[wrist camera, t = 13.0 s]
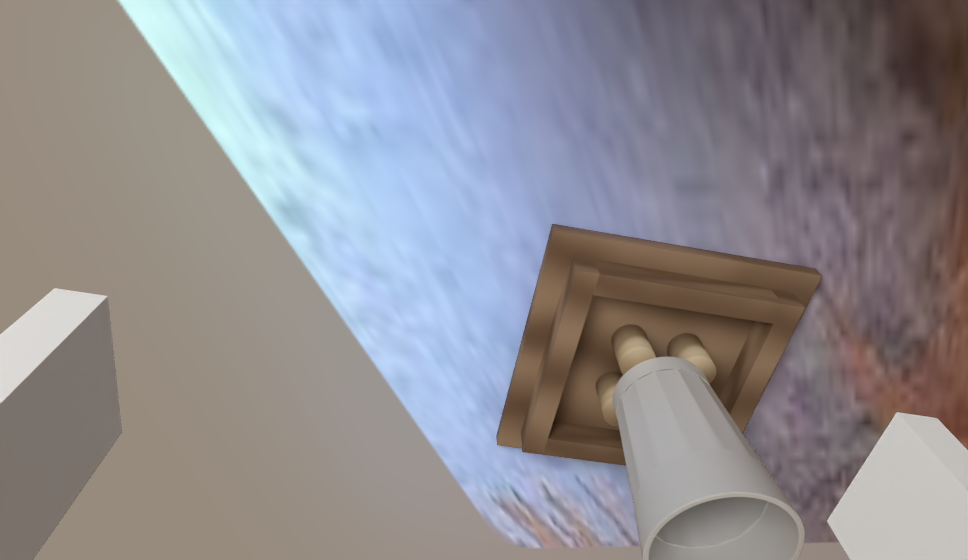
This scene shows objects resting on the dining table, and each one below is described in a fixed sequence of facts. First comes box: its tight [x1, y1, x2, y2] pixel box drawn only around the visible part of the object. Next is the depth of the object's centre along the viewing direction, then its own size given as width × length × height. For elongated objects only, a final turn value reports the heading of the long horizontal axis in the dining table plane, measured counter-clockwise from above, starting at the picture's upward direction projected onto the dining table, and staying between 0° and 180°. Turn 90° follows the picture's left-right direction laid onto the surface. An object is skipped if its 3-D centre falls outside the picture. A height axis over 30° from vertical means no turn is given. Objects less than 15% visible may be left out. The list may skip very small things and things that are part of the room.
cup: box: [613, 357, 805, 560], centre depth 37 cm, size 8×8×12 cm
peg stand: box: [497, 224, 822, 465], centre depth 44 cm, size 18×18×4 cm
